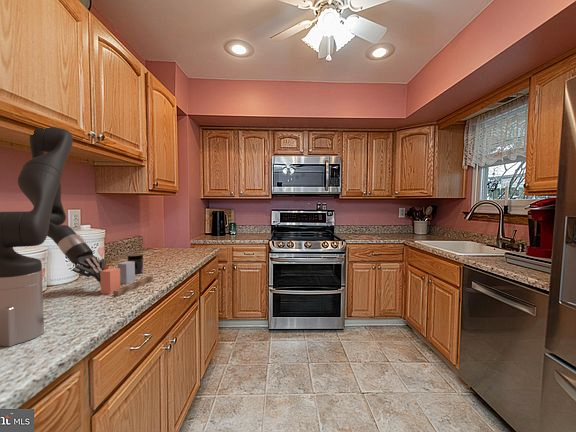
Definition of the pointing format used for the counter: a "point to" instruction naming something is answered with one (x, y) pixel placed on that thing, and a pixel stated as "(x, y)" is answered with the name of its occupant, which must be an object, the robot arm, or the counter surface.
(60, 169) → the robot arm
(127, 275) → the grey rectangular block
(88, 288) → the counter surface
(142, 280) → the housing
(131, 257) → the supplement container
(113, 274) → the orange rectangular block
